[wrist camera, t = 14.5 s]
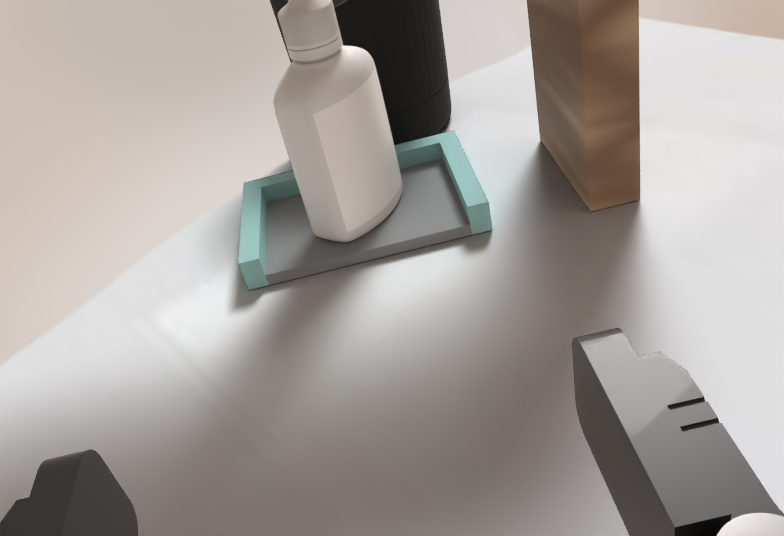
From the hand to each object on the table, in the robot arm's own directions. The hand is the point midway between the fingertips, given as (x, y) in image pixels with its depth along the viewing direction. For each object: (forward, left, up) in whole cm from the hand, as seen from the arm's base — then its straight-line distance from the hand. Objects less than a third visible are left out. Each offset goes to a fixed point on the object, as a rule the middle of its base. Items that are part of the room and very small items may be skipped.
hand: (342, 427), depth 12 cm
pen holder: (+3, +34, -11) cm, 36 cm away
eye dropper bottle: (0, +24, -10) cm, 26 cm away
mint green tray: (0, +24, -11) cm, 26 cm away
